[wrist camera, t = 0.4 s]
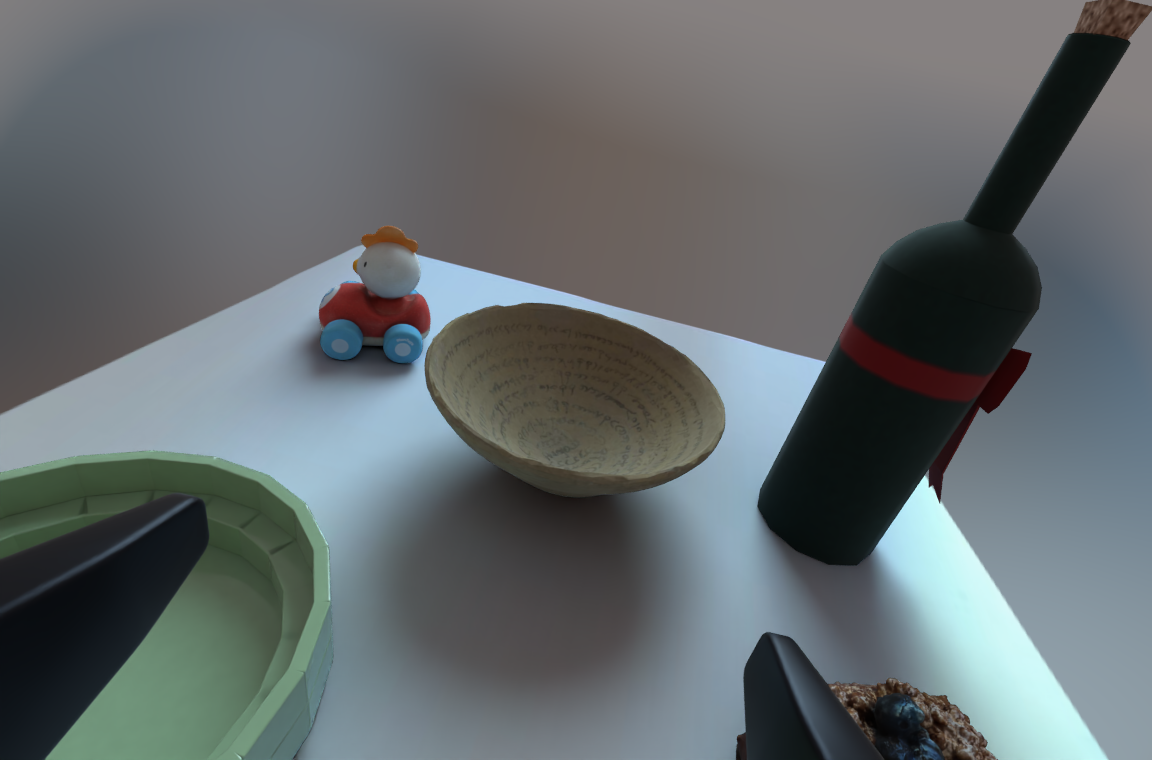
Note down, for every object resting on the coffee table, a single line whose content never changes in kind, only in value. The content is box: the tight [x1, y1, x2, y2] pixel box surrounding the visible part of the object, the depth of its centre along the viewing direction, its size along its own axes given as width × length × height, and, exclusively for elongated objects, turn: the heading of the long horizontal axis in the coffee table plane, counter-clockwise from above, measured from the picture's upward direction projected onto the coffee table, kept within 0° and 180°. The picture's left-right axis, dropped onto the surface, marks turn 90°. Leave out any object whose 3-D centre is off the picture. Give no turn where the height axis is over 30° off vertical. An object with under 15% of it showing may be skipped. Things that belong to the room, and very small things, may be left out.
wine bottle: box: [758, 0, 1152, 565], centre depth 30 cm, size 8×10×30 cm
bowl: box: [425, 303, 725, 498], centre depth 35 cm, size 18×18×8 cm
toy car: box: [319, 226, 430, 363], centre depth 44 cm, size 9×9×10 cm
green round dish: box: [0, 451, 333, 760], centre depth 19 cm, size 17×17×4 cm
